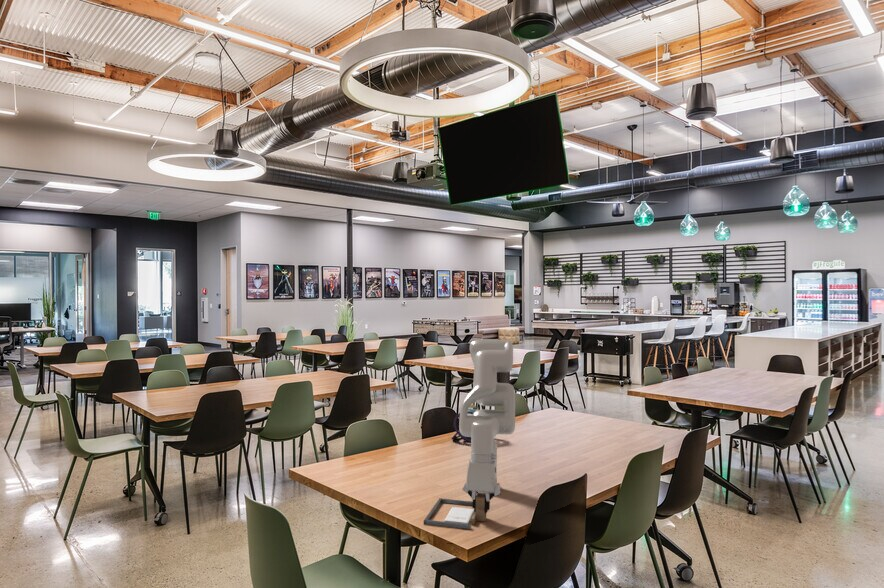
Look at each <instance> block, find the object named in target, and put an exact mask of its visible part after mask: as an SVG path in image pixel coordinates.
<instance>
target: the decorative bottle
mask: <svg viewBox="0 0 884 588" xmlns="http://www.w3.org/2000/svg"><path fill="white" fill-rule="evenodd" d="M476 403H477V401H475V402H474V403H472V404H471V405H470V407H469V408H468V412H467V415H468V414H471V415H473V413H474V412H475V411H477V410H476V409H473V408H476V407H477V405H476ZM458 418H460V412H459V413H457V414H456V415H455V417H454V419H453V428H454V430H455V432H456V433H455V434H453V436H452V437H451V440H452V441H453V439H454V440H456V439H458V438H461V439H462V440H463V441H464V440H466V441H465V442H467V441H468V443H471V437H465V436H463V435H461V433H460V430H459V429H458V428H457V420H458ZM455 438H456V439H455Z"/></svg>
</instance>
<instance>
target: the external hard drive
mask: <svg viewBox="0 0 884 588" xmlns="http://www.w3.org/2000/svg"><path fill="white" fill-rule="evenodd" d="M473 513H474V508H465V507H455V506H452V507H451V509H450V510H449V512H448V514H447V515H446V517H445V518H444V520H443V522H451V523H460V524H468V523H469V524H470V522H471V517H472V515H473ZM469 521H470V522H469Z"/></svg>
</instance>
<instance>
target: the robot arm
mask: <svg viewBox="0 0 884 588" xmlns="http://www.w3.org/2000/svg"><path fill="white" fill-rule="evenodd" d="M469 354H470V357H471V360H472V363H473V383H472V385H473V387H472V389H471V390H470V391H469V392H468V393H467V394H466V396H464V399H463V400H462V401H461V404H460V405H461V406H460V408H459V413H460V416H459V421H458V422H459V423H458V424H459V425H458V428H459V429H458V431H459V430H460V433H461V435H463V436H465V437H471V442H470V459H469V460H468V465H467V471H466V482H465V484H464V486H463V487H462V491H463V492H464V493H466V494H468V496H469V497H470V498H471V500H472V502H473V506H472V509H474V512H476V496H477V494H478V493H484V494H486V500H485V513H486V514H487V513H488V511H490V506H491V505H490V504H491V503H490V502H491V501H490V500H492V499H493V498H494V497H496V496H498V495H500V494H501V485H500V484H499V483H498V479H497V477H498V476H497V466H498V463H497V462H498V455H497V454H498V445H497V441H495V438H496V436H498V435H504V436H505V435H512V434H513V433H514V432H515V430H516V392H515V391H516V390H515V388H514V385H513V384H511V383H507V382H498V377H497V376H498V375H497V374H498V373H509V372H511V371H512V369H513V365H514V364H513V363H514V346H513V343H512V342H511V341H510V340H507V339H486V338H485V339H475V340H471V342H470V343H469ZM475 401H476V402H475ZM474 402H475V403H477V404H478V405H479V406H482V407H483V406H484V407H502V409H483V408H482V409H478V410H476V411H475V412H473V414H471V415H468V413H467V412H468V409H470V408H469V407H470V405H471V404H472V405H473V404H475V403H474ZM477 492H478V493H477Z"/></svg>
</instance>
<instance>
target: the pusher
mask: <svg viewBox="0 0 884 588" xmlns="http://www.w3.org/2000/svg"><path fill="white" fill-rule="evenodd" d="M485 500H486V493H477V496H476V512H474V513H473V515H472V517H471V520H470V525H471V524H472V525H471V526H474V525H475V523H476V522H486V519H487V513H485Z"/></svg>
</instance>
